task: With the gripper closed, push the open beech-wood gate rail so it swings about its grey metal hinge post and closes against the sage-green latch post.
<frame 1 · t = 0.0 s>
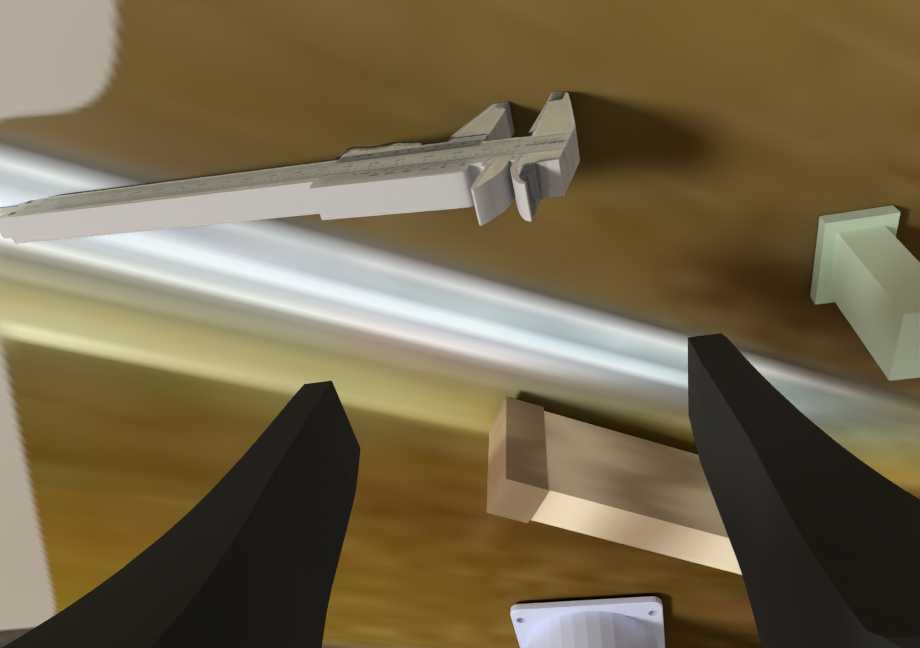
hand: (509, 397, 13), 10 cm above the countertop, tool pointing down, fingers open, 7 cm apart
gate: (631, 488, 26), point 3 cm above the countertop, hinge at 60.0°
latch post: (849, 253, 22), on the countertop
caliper: (263, 162, 22), on the countertop
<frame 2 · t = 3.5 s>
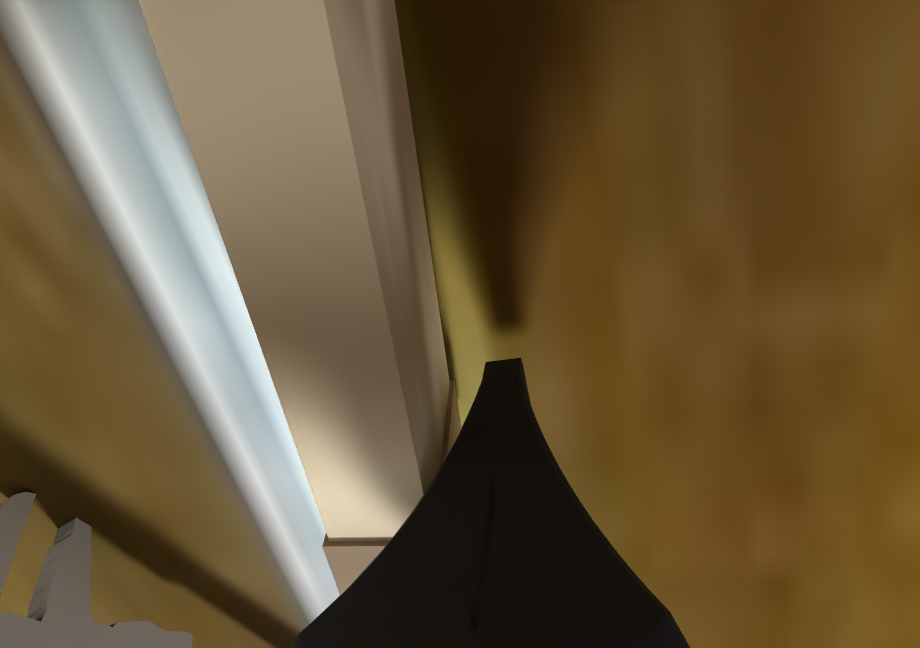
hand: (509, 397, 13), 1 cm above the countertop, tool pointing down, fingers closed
gate: (357, 278, 11), point 3 cm above the countertop, hinge at 59.1°, touching gripper
caliper: (279, 636, 24), on the countertop
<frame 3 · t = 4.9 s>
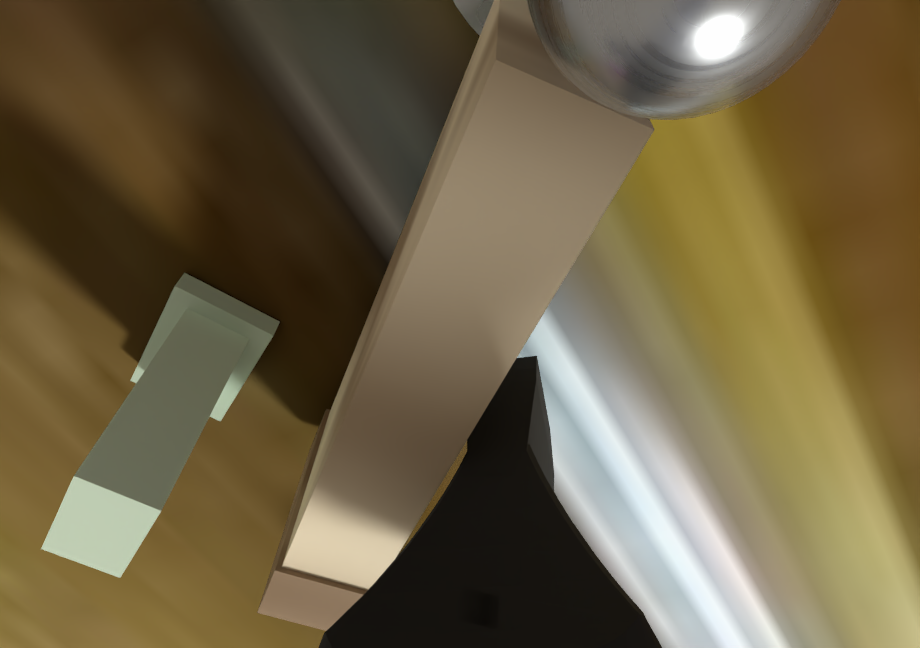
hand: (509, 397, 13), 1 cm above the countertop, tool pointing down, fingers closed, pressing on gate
gate: (414, 358, 12), point 3 cm above the countertop, hinge at 11.1°, touching gripper
latch post: (207, 344, 15), on the countertop
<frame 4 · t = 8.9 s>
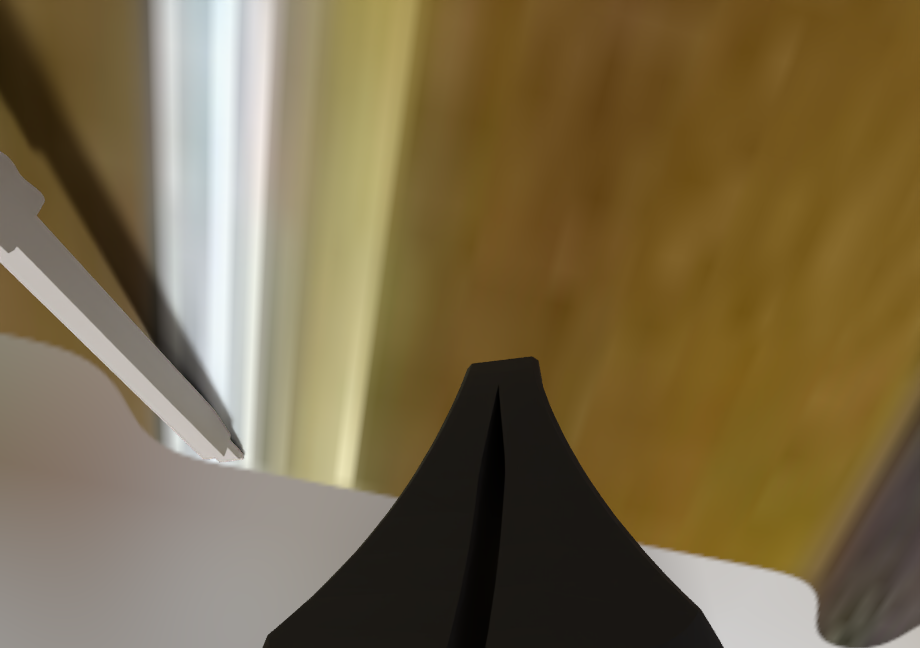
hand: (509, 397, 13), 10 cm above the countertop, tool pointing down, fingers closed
caliper: (116, 264, 25), on the countertop
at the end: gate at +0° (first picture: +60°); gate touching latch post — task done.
